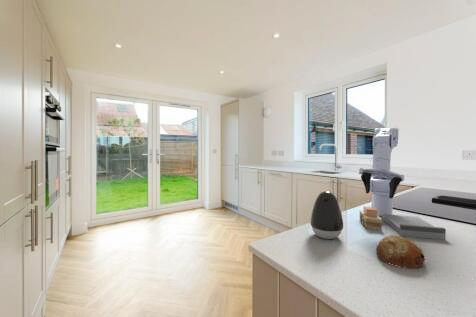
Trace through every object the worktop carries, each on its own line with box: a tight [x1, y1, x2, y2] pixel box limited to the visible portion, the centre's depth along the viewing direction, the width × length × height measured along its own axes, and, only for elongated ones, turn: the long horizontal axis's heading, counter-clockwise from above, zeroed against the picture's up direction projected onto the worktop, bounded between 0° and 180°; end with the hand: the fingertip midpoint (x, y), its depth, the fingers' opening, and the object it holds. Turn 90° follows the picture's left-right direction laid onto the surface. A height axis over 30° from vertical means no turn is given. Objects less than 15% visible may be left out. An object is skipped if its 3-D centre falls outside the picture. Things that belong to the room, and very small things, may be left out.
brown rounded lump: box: [375, 234, 426, 269], centre depth 58 cm, size 10×10×8 cm
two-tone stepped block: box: [359, 210, 383, 230], centre depth 84 cm, size 10×5×4 cm, turn 163°
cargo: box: [362, 206, 377, 216], centre depth 83 cm, size 4×4×2 cm
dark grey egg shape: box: [310, 190, 344, 240], centre depth 73 cm, size 10×10×15 cm
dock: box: [382, 214, 447, 241], centre depth 80 cm, size 18×12×4 cm, turn 163°
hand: (379, 195), depth 80 cm, fingers open, 7 cm apart
